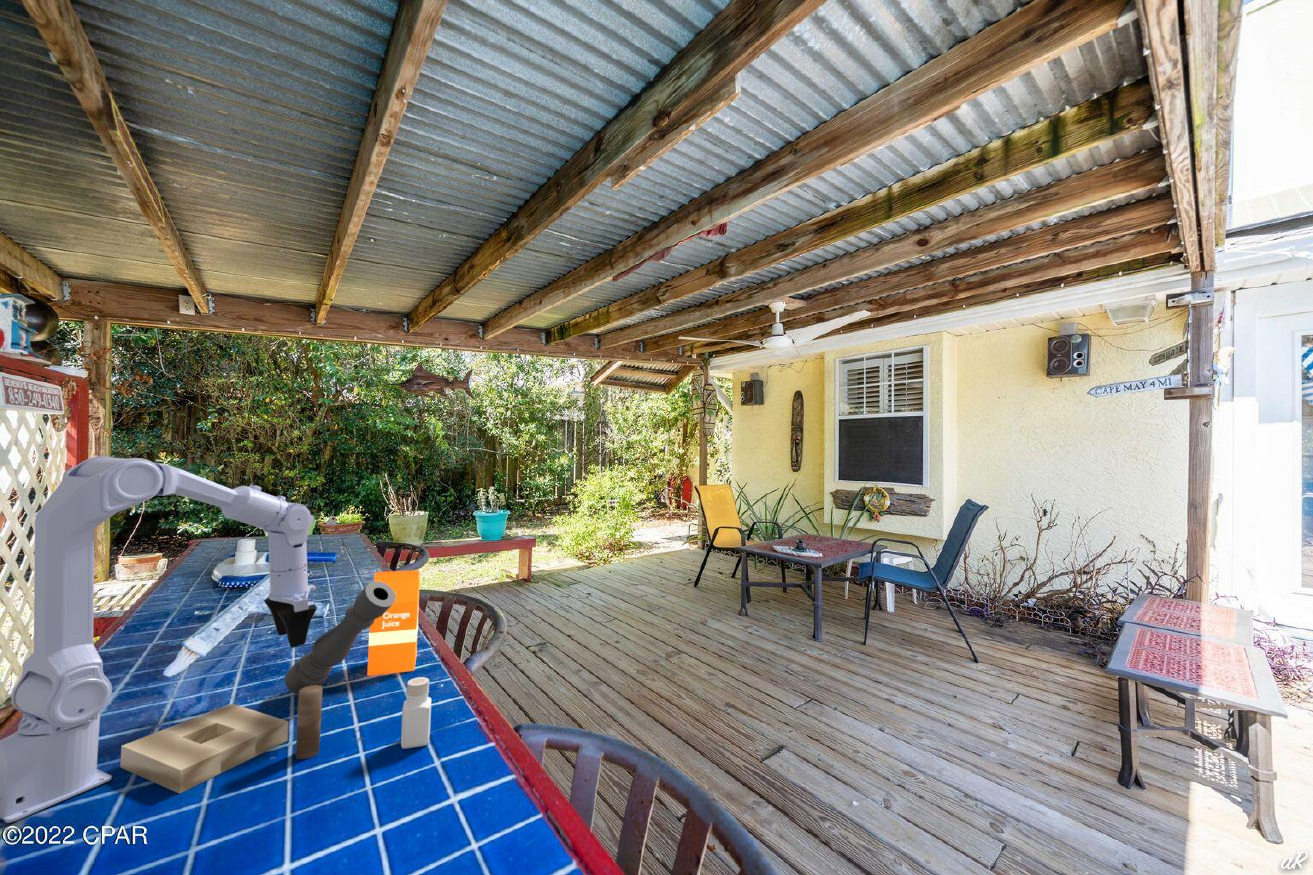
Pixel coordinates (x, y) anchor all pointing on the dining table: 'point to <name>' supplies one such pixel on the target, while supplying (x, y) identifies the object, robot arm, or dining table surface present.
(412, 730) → the pepper shaker
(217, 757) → the socket block
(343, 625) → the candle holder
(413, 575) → the orange juice
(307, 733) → the walnut peg
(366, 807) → the dining table surface
